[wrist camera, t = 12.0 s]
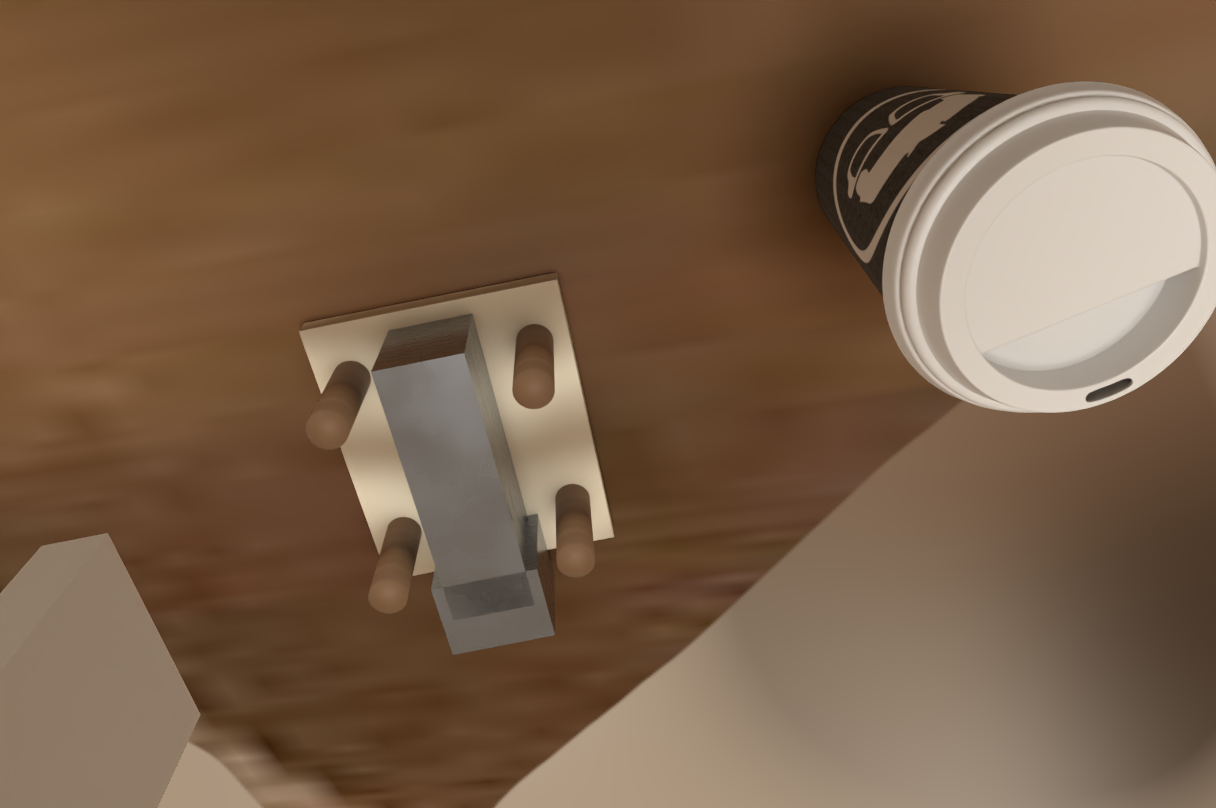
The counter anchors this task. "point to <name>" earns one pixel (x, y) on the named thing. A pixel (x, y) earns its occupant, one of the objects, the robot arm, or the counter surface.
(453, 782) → the counter surface
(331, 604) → the counter surface
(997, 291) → the coffee cup
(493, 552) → the grey metal bar
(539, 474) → the rack
